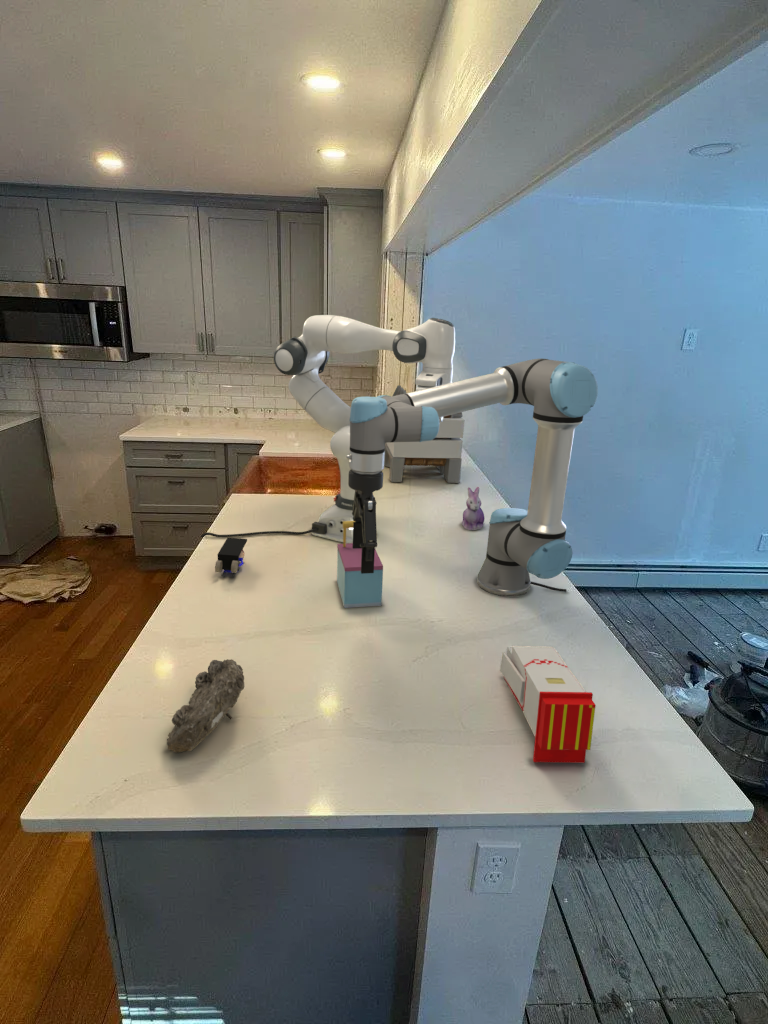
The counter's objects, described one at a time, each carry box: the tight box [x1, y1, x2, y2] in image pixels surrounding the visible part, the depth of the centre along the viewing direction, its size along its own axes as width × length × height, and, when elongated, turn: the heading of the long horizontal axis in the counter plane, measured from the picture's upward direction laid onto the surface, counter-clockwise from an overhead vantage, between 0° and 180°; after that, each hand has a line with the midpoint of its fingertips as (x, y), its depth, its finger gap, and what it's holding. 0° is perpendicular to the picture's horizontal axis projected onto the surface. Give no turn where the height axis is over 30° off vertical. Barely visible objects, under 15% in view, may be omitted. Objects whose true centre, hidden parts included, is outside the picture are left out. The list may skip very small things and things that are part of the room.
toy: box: [499, 645, 597, 764], centre depth 112 cm, size 12×13×30 cm
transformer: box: [384, 384, 465, 484], centre depth 268 cm, size 34×33×41 cm
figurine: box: [461, 486, 485, 531], centre depth 207 cm, size 9×10×15 cm
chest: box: [336, 549, 384, 609], centre depth 156 cm, size 15×10×10 cm, turn 12°
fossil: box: [166, 658, 245, 754], centre depth 106 cm, size 22×10×15 cm
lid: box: [336, 521, 384, 571], centre depth 152 cm, size 16×10×9 cm, turn 12°
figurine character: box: [214, 537, 248, 578], centre depth 166 cm, size 7×8×15 cm
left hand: (433, 424), depth 170 cm, fingers open, 8 cm apart
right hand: (362, 559), depth 130 cm, fingers open, 13 cm apart
